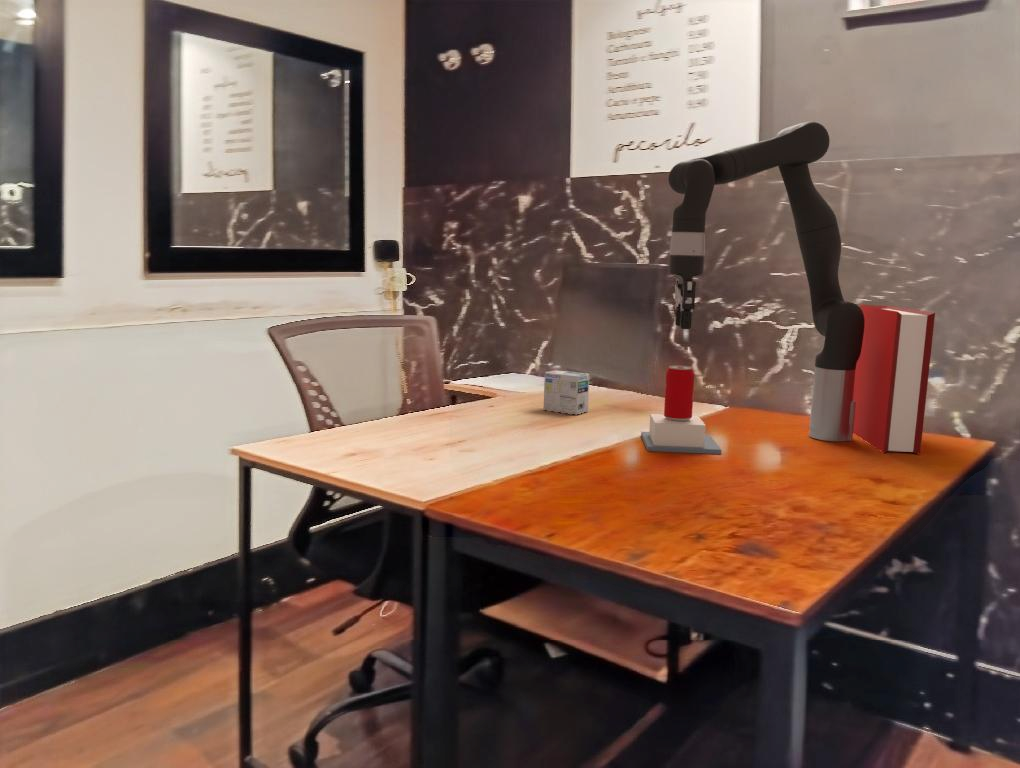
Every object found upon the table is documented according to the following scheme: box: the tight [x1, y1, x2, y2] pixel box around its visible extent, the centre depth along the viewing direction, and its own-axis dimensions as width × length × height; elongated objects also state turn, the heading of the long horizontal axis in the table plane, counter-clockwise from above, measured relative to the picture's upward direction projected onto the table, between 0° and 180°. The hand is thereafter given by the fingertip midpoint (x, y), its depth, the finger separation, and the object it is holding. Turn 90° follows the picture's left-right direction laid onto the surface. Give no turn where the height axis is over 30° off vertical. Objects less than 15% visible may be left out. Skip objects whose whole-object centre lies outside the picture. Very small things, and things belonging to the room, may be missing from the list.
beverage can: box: [663, 365, 695, 421], centre depth 189 cm, size 6×6×12 cm
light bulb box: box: [543, 369, 590, 416], centre depth 228 cm, size 11×7×11 cm, turn 58°
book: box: [853, 304, 936, 455], centre depth 200 cm, size 27×8×32 cm, turn 175°
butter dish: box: [640, 413, 722, 455], centre depth 191 cm, size 16×16×6 cm
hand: (682, 327), depth 187 cm, fingers open, 8 cm apart
